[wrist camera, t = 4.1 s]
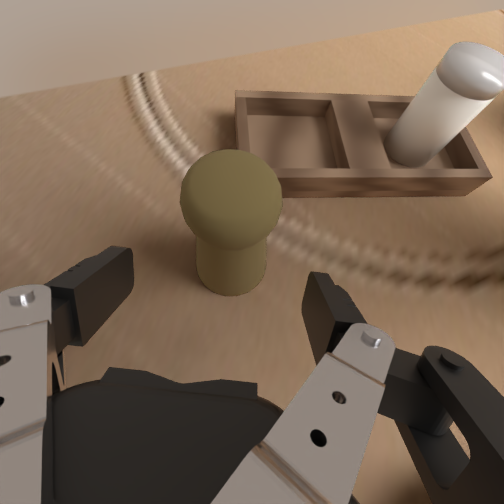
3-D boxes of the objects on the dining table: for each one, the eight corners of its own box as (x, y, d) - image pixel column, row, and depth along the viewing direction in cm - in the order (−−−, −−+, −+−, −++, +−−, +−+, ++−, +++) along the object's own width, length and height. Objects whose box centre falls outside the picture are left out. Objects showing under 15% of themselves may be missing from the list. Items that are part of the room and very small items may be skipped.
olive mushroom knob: (192, 234, 22) (160, 133, 12) (259, 226, 23) (281, 125, 13) (199, 302, 20) (166, 247, 10) (272, 290, 21) (313, 228, 10)
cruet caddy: (430, 120, 30) (450, 97, 28) (464, 195, 26) (492, 177, 23) (234, 116, 28) (235, 90, 25) (239, 198, 24) (240, 177, 21)
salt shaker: (421, 131, 28) (496, 43, 20) (437, 167, 26) (528, 86, 18) (378, 130, 28) (438, 39, 20) (391, 167, 26) (464, 83, 18)
